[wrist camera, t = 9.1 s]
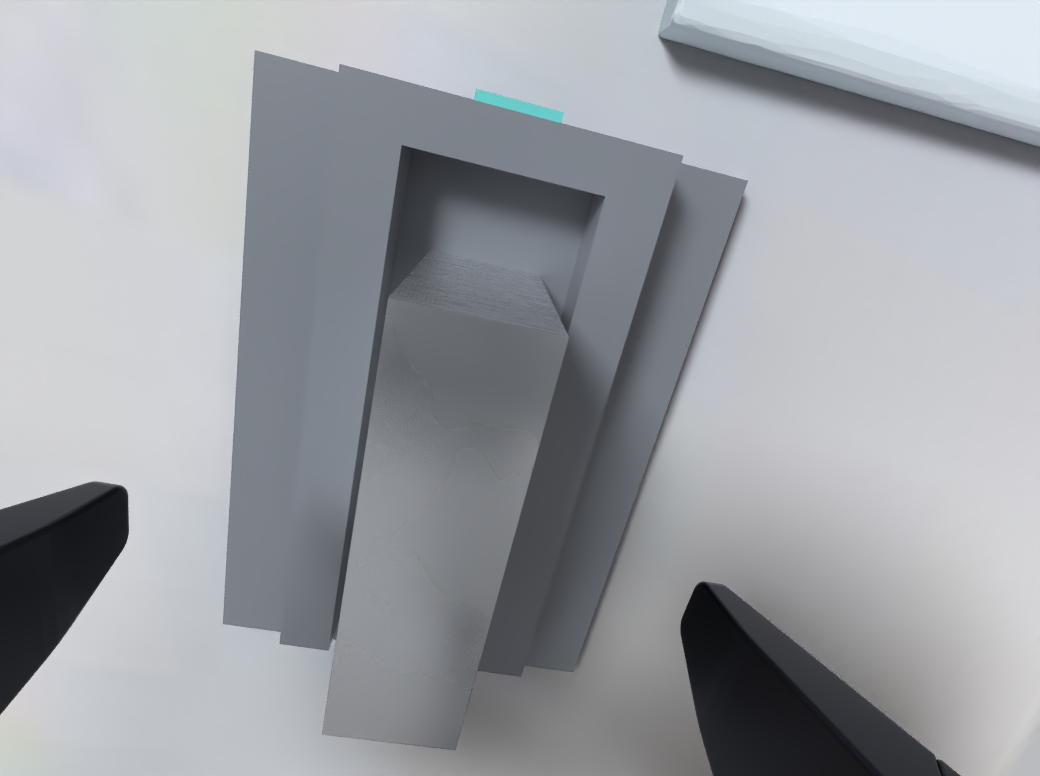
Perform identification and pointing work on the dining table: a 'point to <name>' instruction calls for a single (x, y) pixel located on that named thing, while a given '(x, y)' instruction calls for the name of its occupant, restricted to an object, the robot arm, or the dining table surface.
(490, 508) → the block
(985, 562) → the dining table surface
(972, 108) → the external hard drive
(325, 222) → the dock
